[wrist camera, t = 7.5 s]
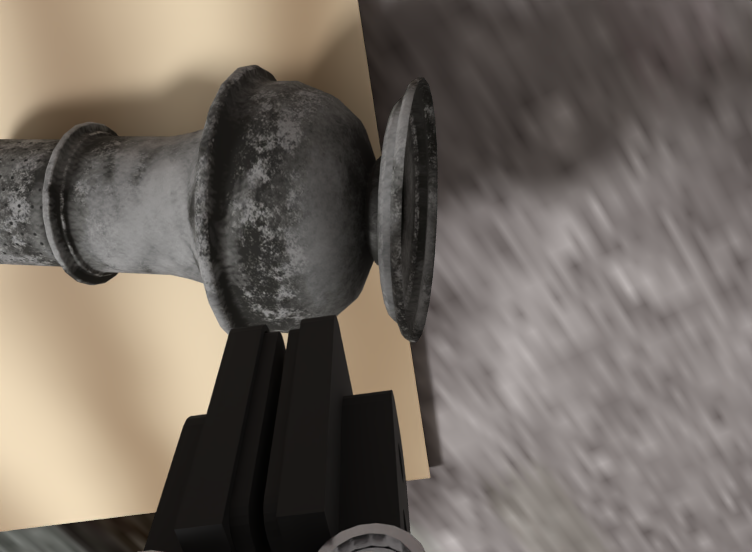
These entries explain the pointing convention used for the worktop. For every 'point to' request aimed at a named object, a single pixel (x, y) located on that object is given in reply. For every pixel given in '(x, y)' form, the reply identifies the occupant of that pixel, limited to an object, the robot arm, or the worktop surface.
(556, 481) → the worktop surface
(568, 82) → the worktop surface
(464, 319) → the worktop surface
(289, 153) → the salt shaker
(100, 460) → the cork mat
